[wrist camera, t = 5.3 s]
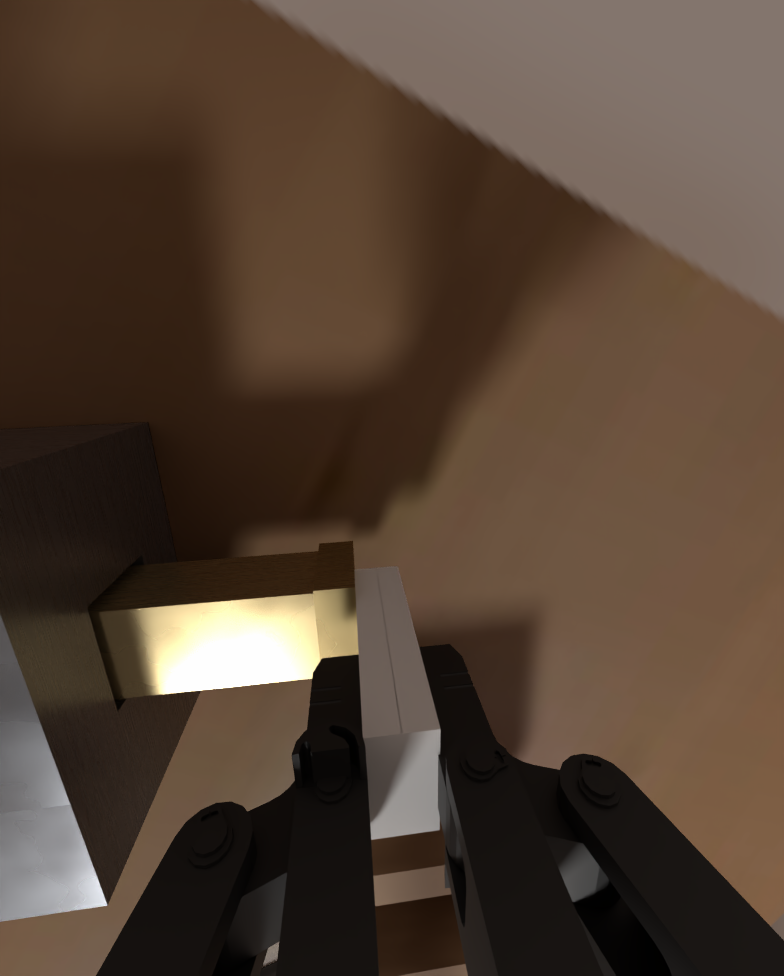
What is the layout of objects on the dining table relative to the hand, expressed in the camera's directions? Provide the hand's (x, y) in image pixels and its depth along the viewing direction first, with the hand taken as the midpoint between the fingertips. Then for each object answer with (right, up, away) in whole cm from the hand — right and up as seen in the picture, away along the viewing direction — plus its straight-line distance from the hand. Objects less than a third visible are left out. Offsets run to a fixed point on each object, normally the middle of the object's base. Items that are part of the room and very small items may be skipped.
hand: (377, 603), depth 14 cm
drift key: (-5, 0, +1) cm, 5 cm away
